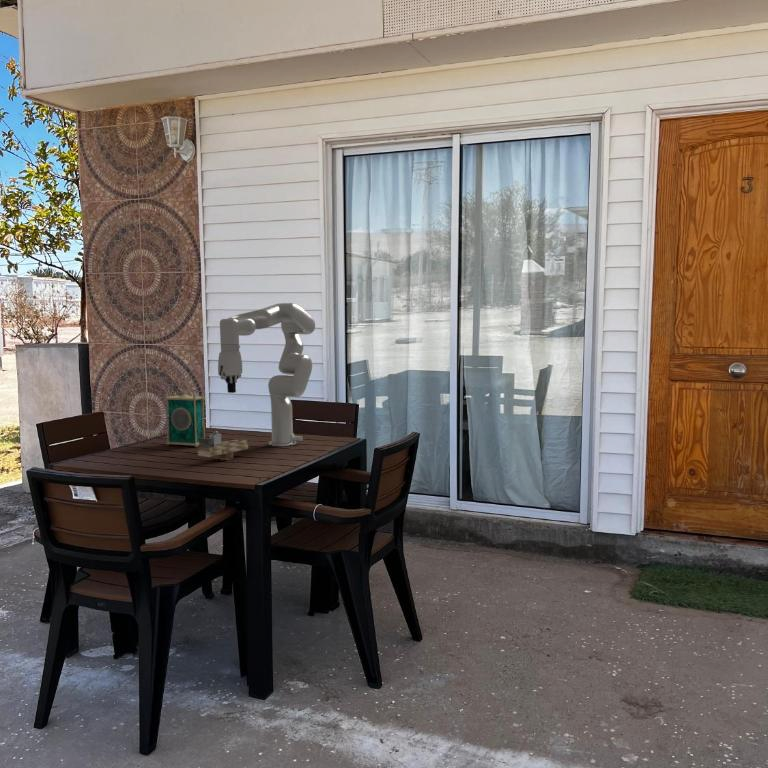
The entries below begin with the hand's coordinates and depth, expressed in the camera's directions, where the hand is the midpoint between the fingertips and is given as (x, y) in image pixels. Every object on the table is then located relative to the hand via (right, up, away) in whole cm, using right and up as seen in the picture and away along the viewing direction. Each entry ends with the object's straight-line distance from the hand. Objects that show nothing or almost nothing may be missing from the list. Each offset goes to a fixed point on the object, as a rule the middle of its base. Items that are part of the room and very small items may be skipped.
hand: (231, 392), depth 316 cm
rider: (-5, -23, -8) cm, 24 cm away
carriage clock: (-27, -25, +30) cm, 47 cm away
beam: (-2, -28, -4) cm, 28 cm away
